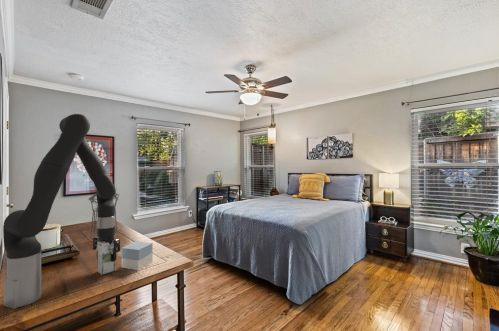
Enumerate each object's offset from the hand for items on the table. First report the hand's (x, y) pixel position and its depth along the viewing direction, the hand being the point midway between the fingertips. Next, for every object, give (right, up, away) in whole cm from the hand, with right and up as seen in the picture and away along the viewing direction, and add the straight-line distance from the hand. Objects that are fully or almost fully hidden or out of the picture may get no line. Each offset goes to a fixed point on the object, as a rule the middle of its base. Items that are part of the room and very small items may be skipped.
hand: (106, 259), depth 113 cm
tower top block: (+11, -1, +7) cm, 13 cm away
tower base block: (+11, -6, +8) cm, 15 cm away
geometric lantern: (-26, -5, +41) cm, 49 cm away
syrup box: (0, -6, 0) cm, 6 cm away
